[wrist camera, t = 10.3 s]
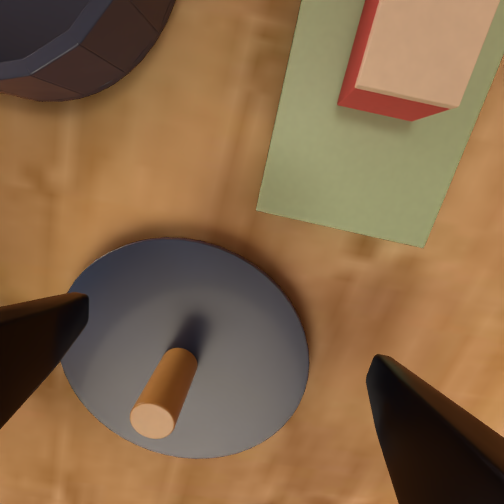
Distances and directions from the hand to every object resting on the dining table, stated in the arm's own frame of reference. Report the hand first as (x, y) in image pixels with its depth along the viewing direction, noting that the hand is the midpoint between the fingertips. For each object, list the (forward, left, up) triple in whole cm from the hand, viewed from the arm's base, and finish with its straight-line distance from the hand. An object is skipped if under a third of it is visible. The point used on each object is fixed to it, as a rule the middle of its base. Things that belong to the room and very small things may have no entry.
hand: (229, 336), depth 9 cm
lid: (-9, +3, -10) cm, 14 cm away
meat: (+12, -5, -9) cm, 15 cm away
